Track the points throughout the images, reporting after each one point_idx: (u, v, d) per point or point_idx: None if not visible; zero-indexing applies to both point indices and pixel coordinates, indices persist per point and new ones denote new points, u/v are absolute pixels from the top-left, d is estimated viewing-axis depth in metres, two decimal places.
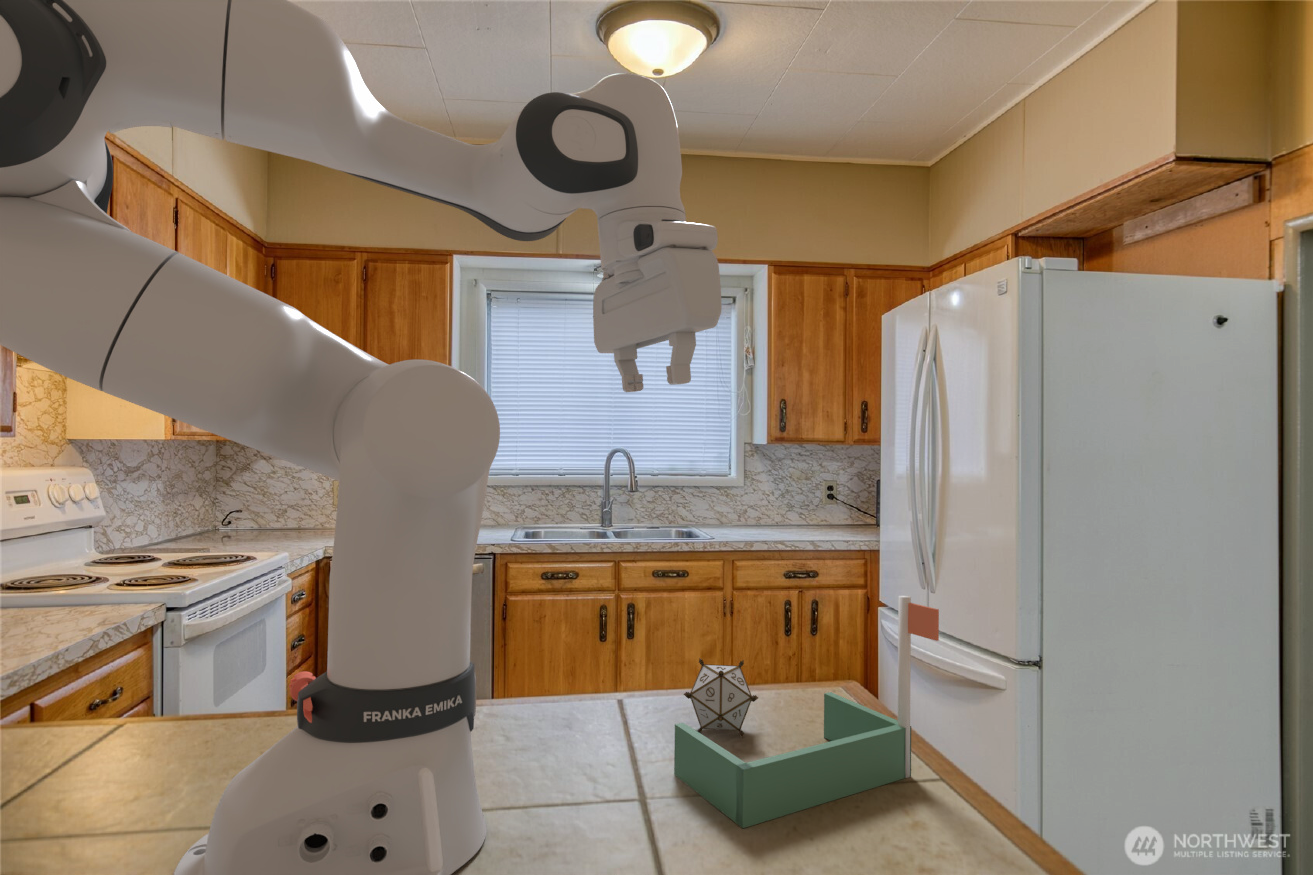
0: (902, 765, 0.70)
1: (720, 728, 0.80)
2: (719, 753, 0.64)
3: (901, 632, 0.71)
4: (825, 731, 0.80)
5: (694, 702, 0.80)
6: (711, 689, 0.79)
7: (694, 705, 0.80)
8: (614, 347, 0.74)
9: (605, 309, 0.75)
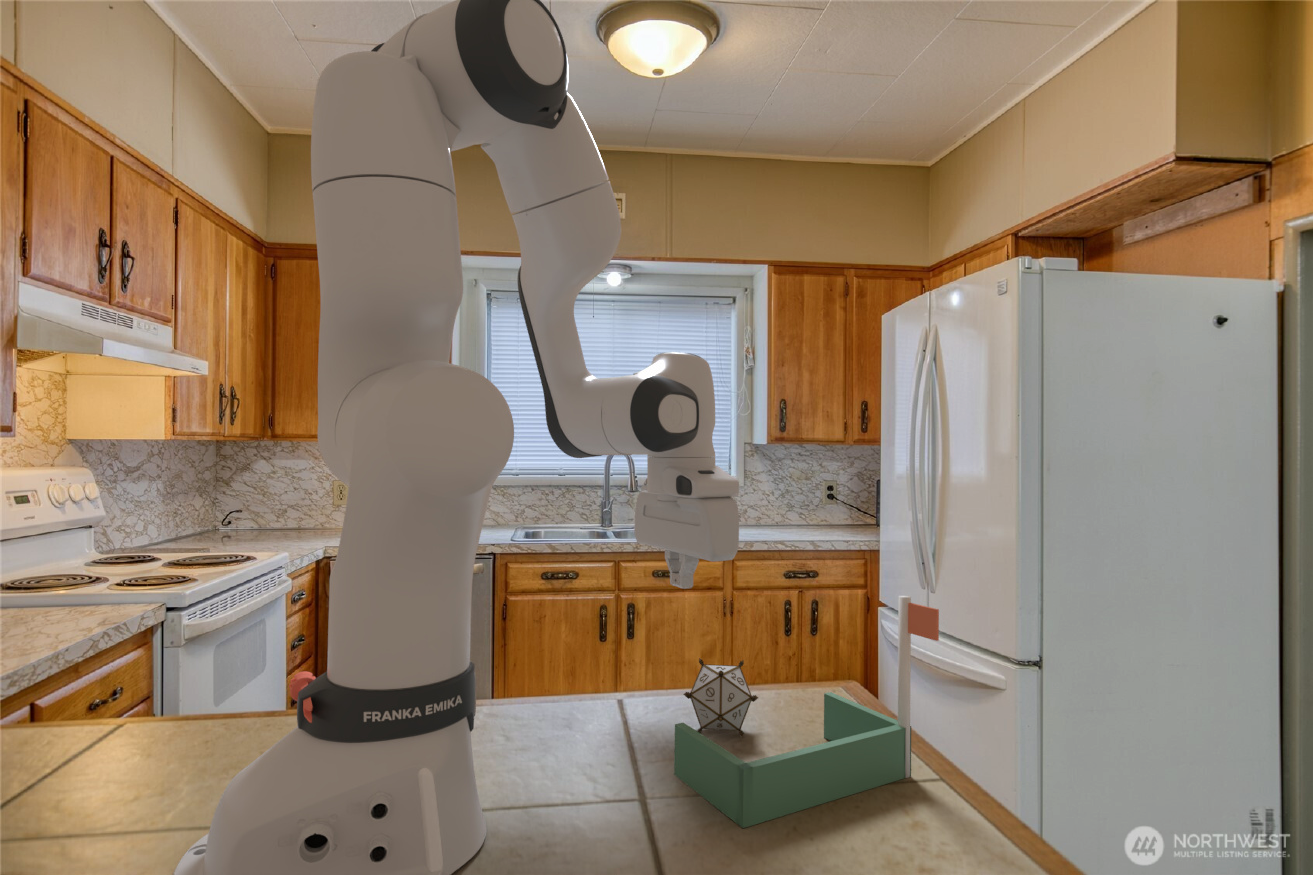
0: (902, 765, 0.70)
1: (720, 728, 0.80)
2: (719, 753, 0.64)
3: (901, 632, 0.71)
4: (825, 731, 0.80)
5: (694, 702, 0.80)
6: (711, 689, 0.79)
7: (694, 705, 0.80)
8: (651, 545, 0.94)
9: (646, 512, 0.96)
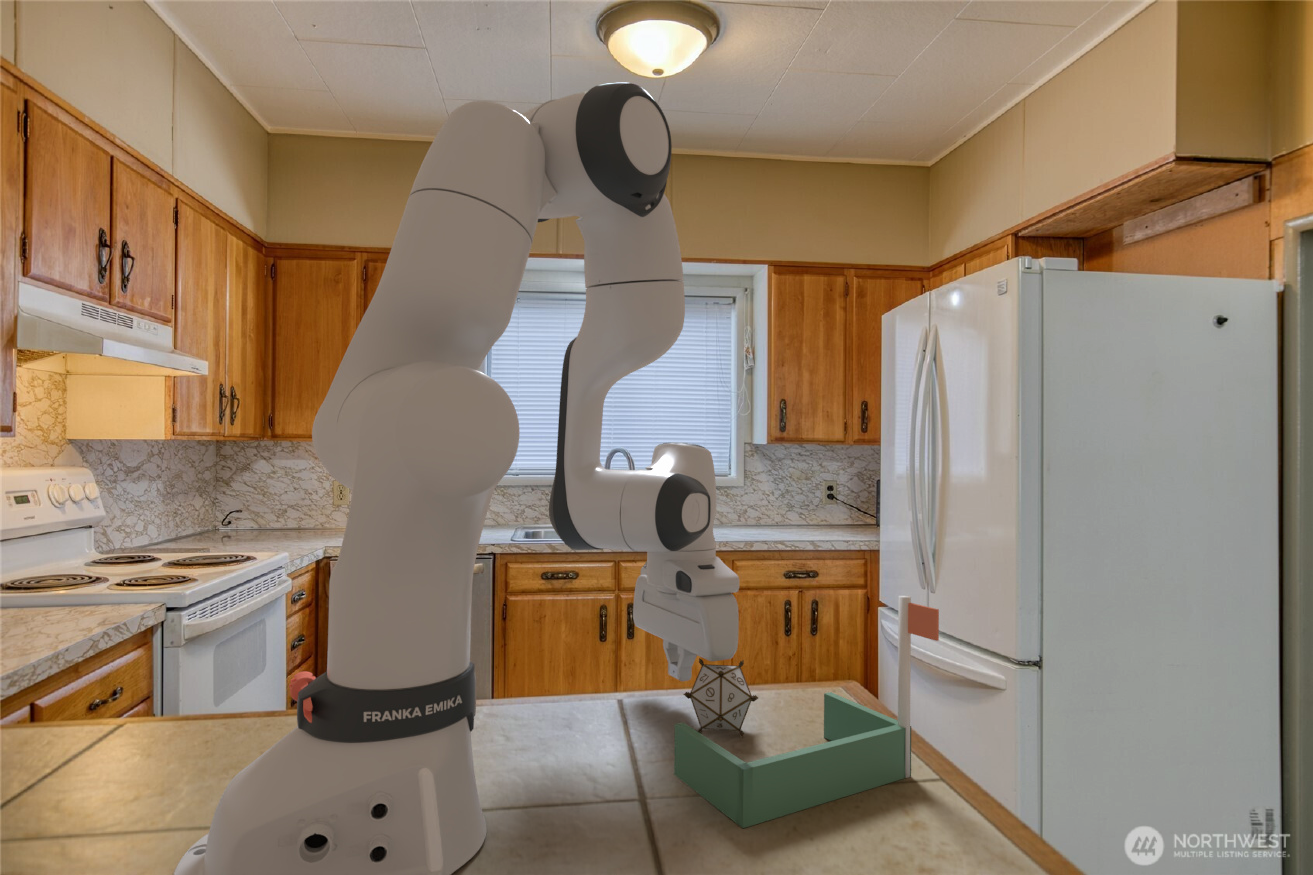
0: (902, 765, 0.70)
1: (720, 728, 0.80)
2: (719, 753, 0.64)
3: (901, 632, 0.71)
4: (825, 731, 0.80)
5: (694, 702, 0.80)
6: (711, 689, 0.79)
7: (694, 705, 0.80)
8: (649, 632, 0.93)
9: (645, 597, 0.95)
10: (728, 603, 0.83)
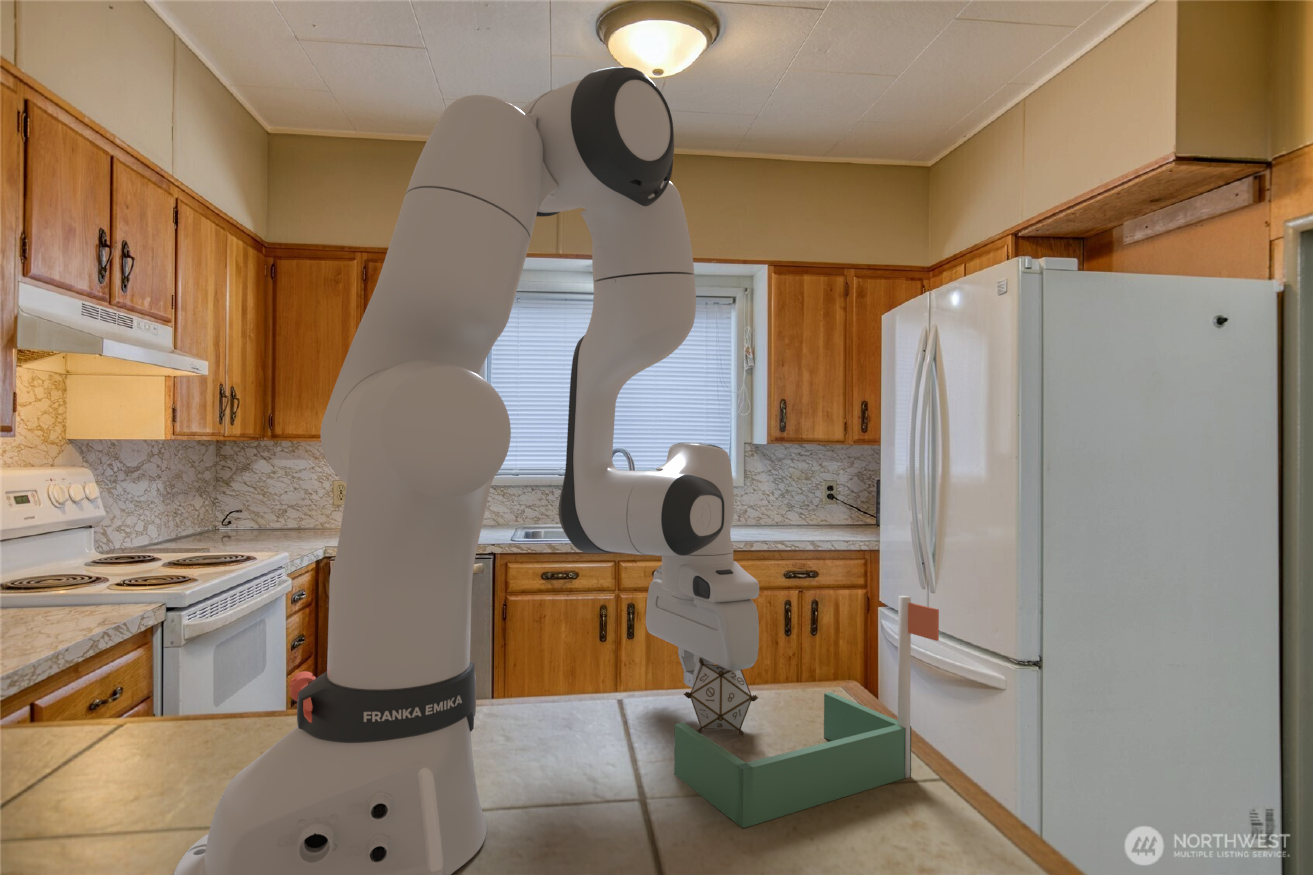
0: (902, 765, 0.70)
1: (720, 728, 0.80)
2: (719, 753, 0.64)
3: (901, 632, 0.71)
4: (825, 731, 0.80)
5: (694, 702, 0.80)
6: (711, 689, 0.79)
7: (694, 705, 0.80)
8: (663, 639, 0.90)
9: (659, 603, 0.92)
10: (748, 610, 0.79)
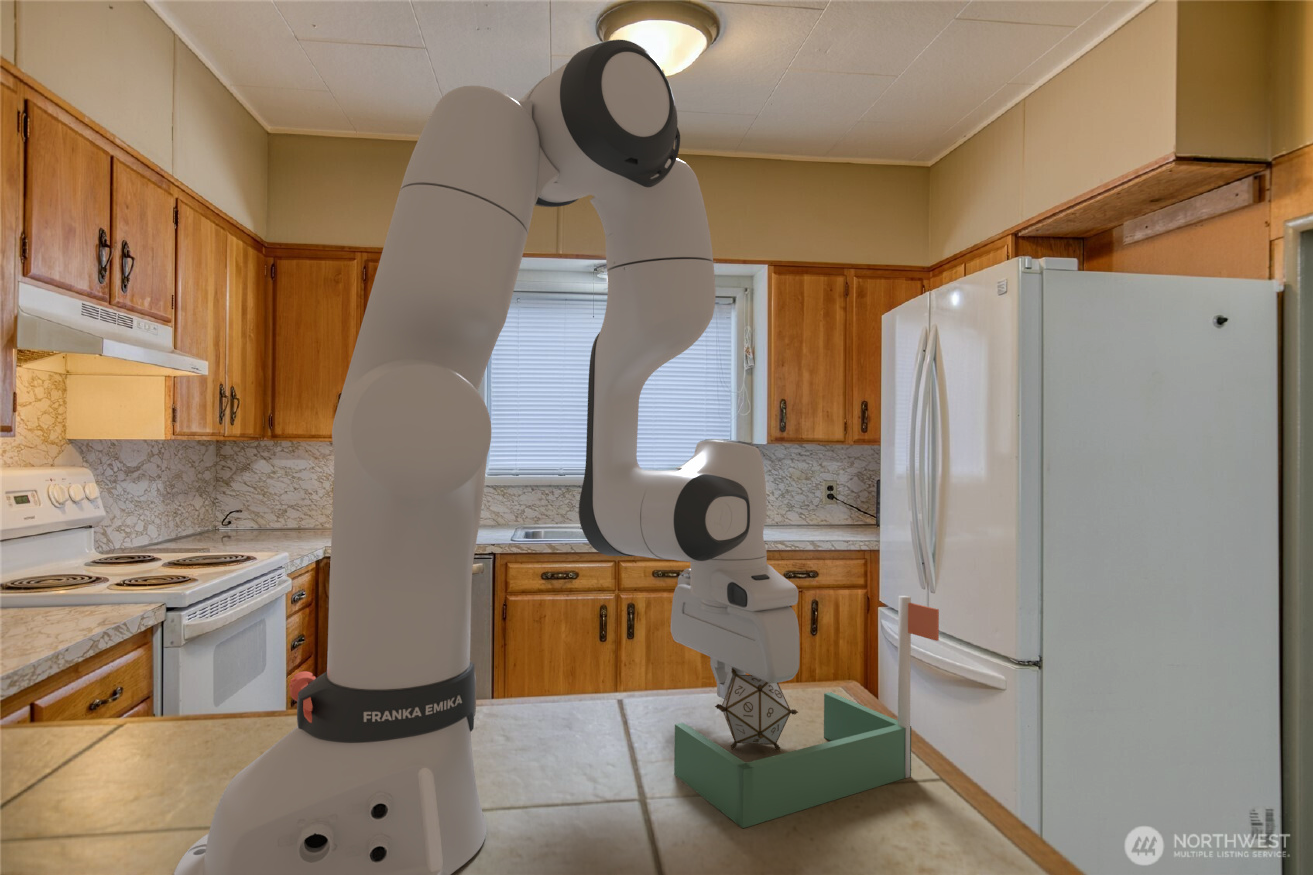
0: (902, 765, 0.70)
1: (755, 742, 0.76)
2: (719, 753, 0.64)
3: (901, 632, 0.71)
4: (825, 731, 0.80)
5: (730, 717, 0.75)
6: (749, 703, 0.75)
7: (729, 720, 0.76)
8: (692, 648, 0.85)
9: (685, 610, 0.86)
10: (787, 618, 0.74)
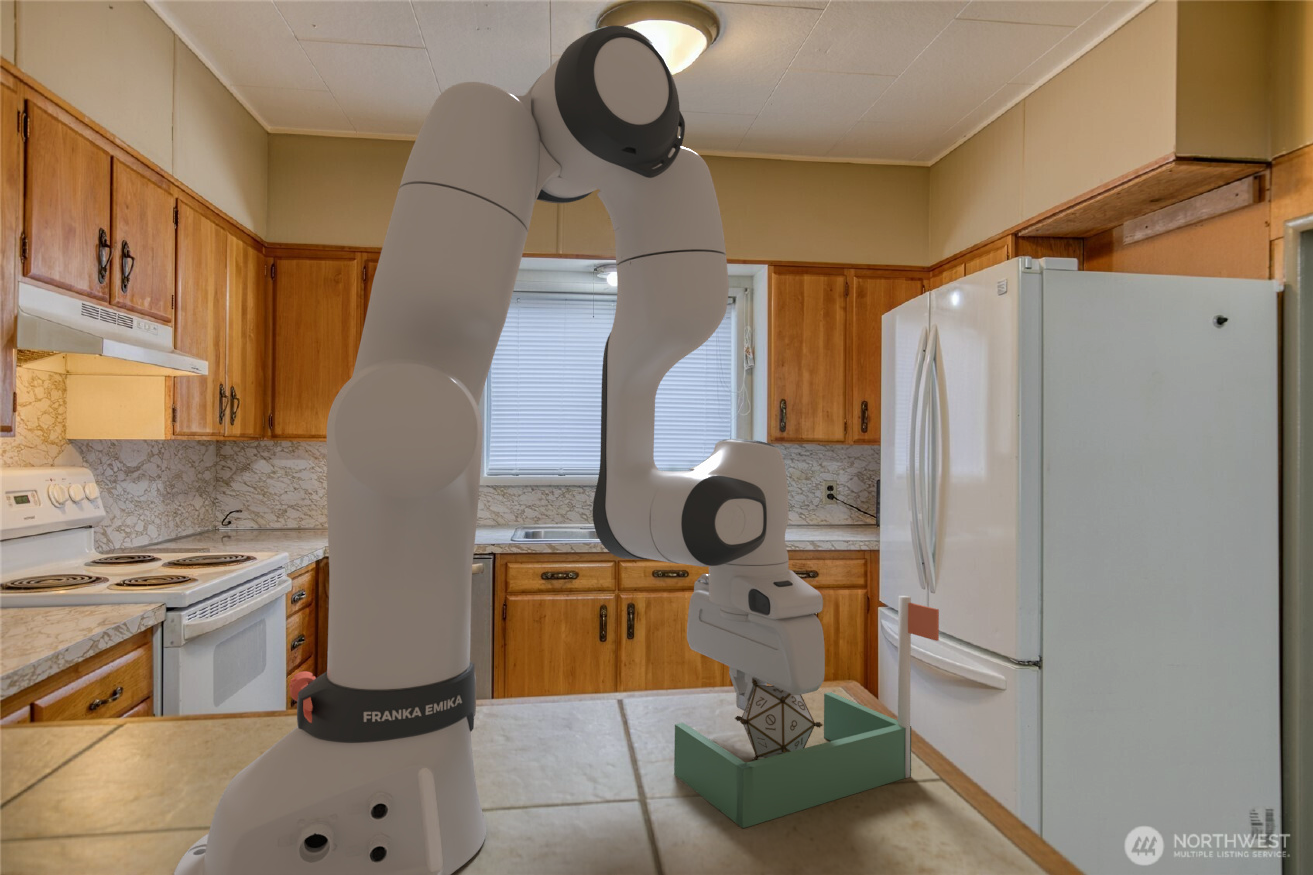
0: (902, 765, 0.70)
1: None
2: (719, 753, 0.64)
3: (901, 632, 0.71)
4: (825, 731, 0.80)
5: (751, 730, 0.72)
6: (771, 716, 0.71)
7: (751, 733, 0.72)
8: None
9: (702, 617, 0.83)
10: (812, 626, 0.71)
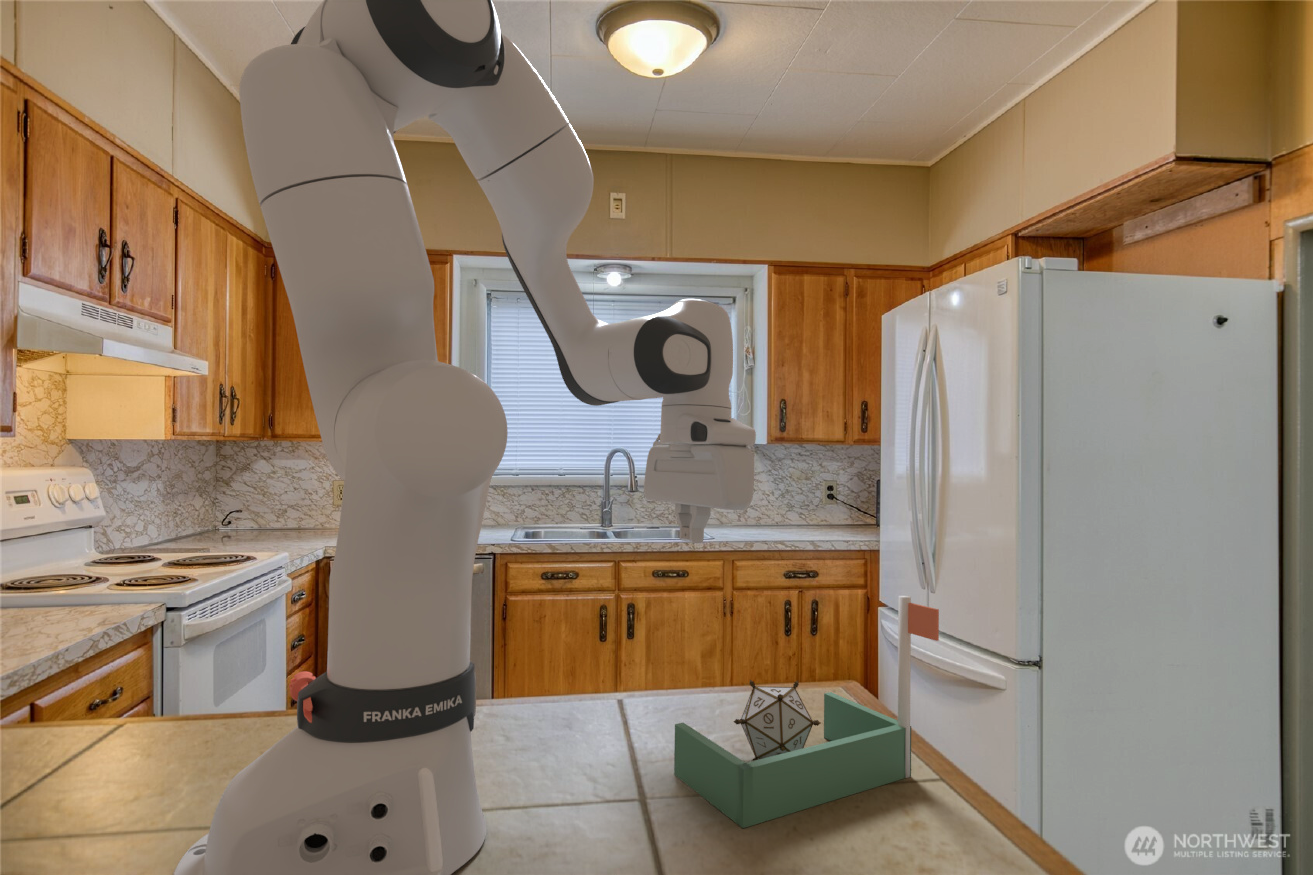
0: (902, 765, 0.70)
1: None
2: (719, 753, 0.64)
3: (901, 632, 0.71)
4: (825, 731, 0.80)
5: (749, 730, 0.72)
6: (769, 715, 0.72)
7: (749, 733, 0.72)
8: (661, 500, 0.92)
9: (657, 467, 0.93)
10: (744, 453, 0.81)
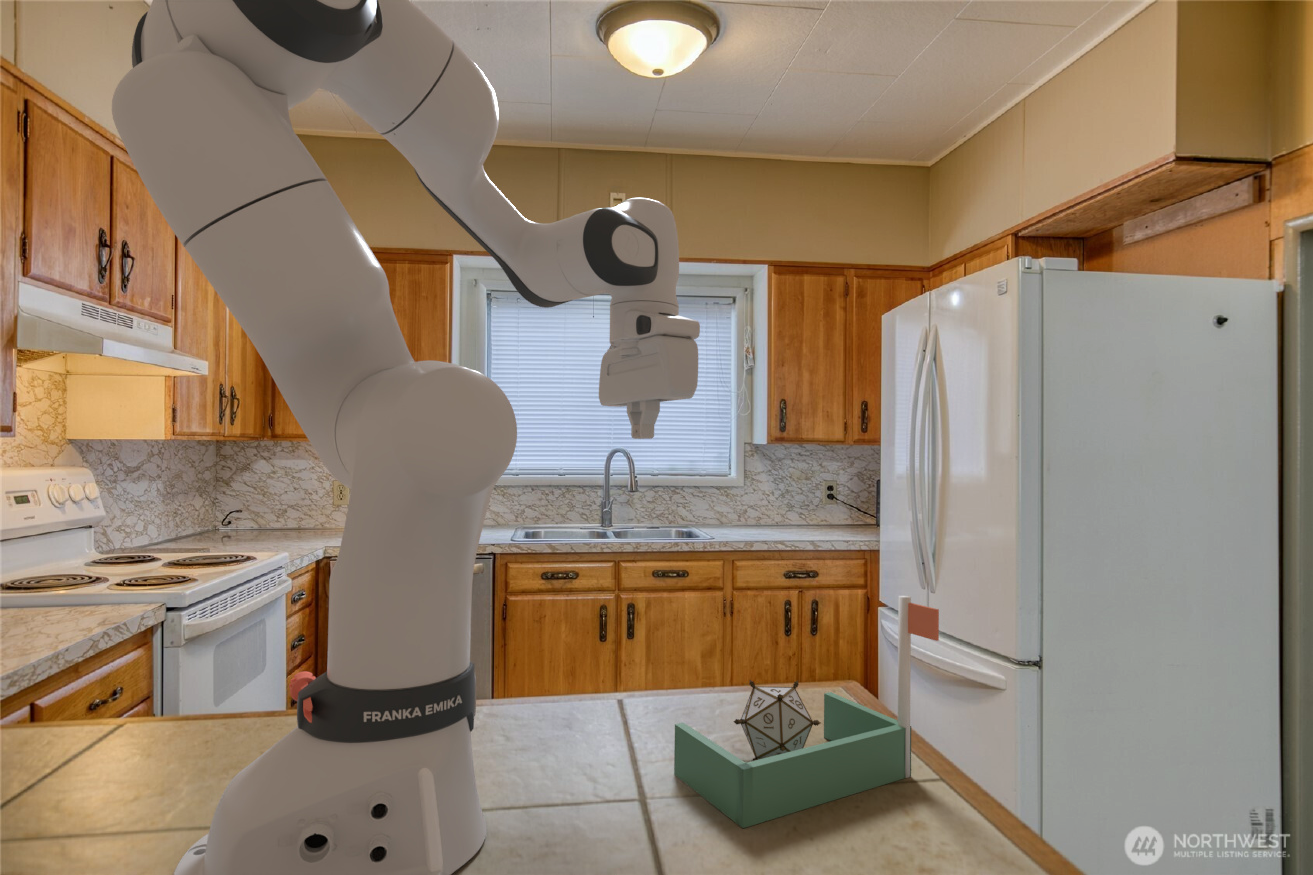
0: (902, 765, 0.70)
1: None
2: (719, 753, 0.64)
3: (901, 632, 0.71)
4: (825, 731, 0.80)
5: (749, 730, 0.72)
6: (769, 715, 0.72)
7: (749, 733, 0.72)
8: (614, 403, 0.93)
9: (610, 371, 0.95)
10: (688, 343, 0.82)
